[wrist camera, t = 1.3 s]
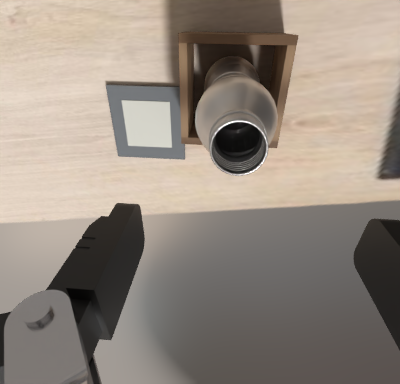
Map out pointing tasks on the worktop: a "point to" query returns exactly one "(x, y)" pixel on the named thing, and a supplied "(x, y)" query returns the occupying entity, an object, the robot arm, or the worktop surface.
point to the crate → (282, 42)
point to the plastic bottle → (235, 116)
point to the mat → (146, 121)
